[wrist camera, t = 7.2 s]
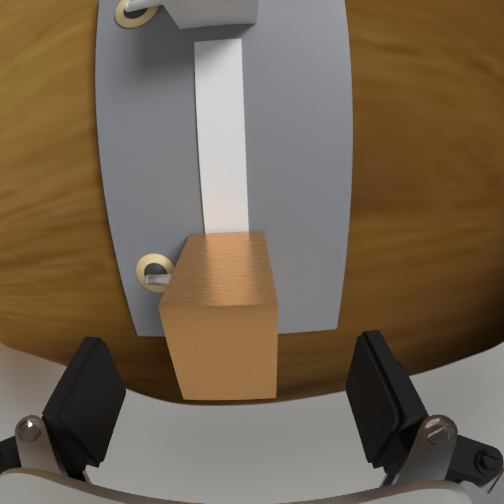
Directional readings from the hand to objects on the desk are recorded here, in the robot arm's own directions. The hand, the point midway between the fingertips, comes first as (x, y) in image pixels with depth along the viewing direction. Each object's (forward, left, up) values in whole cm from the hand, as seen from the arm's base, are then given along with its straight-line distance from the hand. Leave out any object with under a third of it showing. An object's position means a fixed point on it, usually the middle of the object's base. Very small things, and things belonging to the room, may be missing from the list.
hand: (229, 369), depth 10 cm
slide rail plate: (0, -7, -10) cm, 12 cm away
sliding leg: (+2, 0, -8) cm, 8 cm away
